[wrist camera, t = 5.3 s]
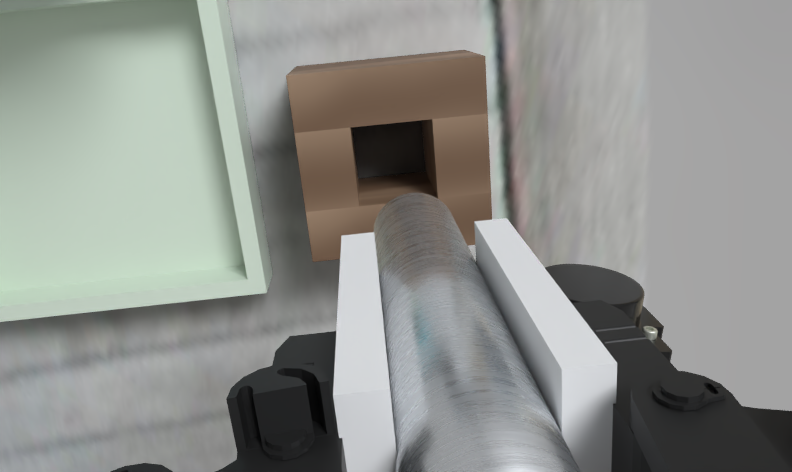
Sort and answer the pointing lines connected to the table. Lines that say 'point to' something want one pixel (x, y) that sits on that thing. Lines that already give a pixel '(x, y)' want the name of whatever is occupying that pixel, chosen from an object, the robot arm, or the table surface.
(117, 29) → the tray
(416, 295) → the pin
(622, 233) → the table surface
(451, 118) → the wooden square frame
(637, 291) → the pneumatic valve
